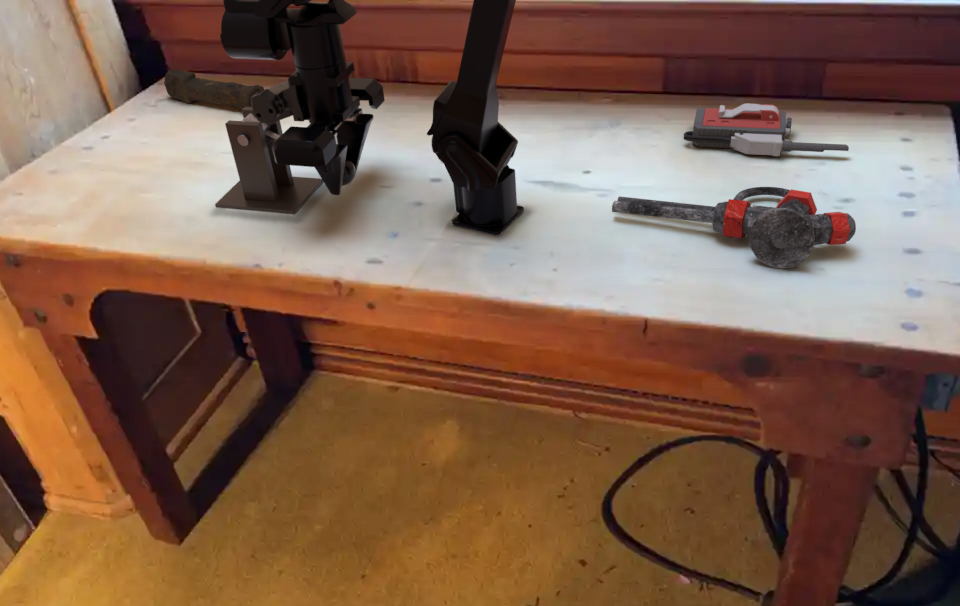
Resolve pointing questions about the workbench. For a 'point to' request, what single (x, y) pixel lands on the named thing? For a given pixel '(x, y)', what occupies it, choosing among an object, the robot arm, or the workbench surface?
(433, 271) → the workbench surface
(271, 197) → the bracket
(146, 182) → the workbench surface
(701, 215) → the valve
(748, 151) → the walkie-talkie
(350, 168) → the lever
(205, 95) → the hand tool
